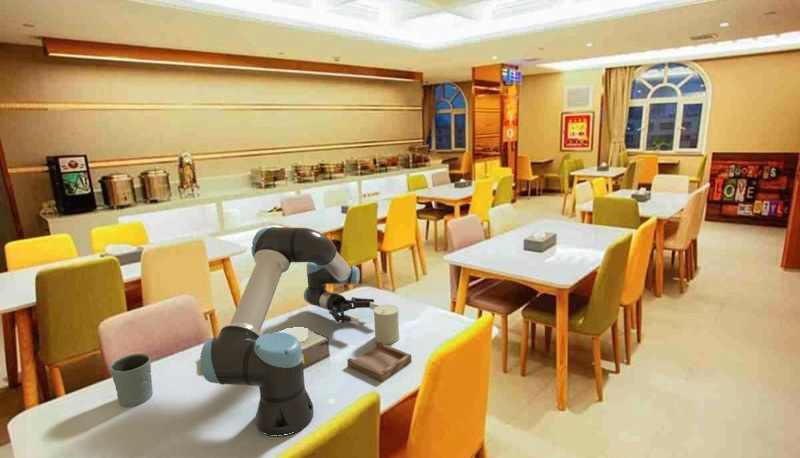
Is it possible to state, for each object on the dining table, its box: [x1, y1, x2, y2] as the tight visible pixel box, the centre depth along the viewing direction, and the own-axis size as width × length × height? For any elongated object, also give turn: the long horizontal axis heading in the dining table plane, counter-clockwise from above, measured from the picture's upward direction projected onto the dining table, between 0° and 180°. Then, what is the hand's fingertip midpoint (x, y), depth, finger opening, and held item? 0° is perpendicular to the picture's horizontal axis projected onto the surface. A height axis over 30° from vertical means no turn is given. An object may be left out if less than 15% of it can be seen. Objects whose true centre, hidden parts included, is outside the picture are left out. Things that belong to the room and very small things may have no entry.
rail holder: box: [346, 341, 412, 383], centre depth 143 cm, size 15×15×2 cm
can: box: [373, 304, 401, 345], centre depth 160 cm, size 9×9×12 cm
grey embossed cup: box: [109, 353, 154, 408], centre depth 128 cm, size 10×10×12 cm
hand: (370, 315), depth 165 cm, fingers open, 13 cm apart
